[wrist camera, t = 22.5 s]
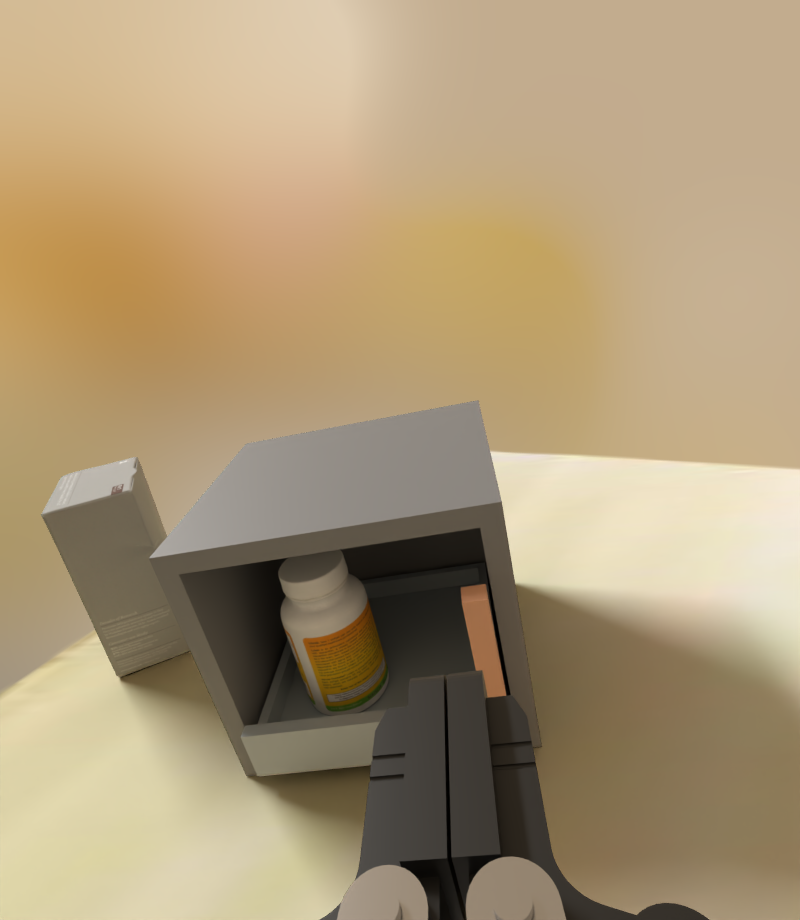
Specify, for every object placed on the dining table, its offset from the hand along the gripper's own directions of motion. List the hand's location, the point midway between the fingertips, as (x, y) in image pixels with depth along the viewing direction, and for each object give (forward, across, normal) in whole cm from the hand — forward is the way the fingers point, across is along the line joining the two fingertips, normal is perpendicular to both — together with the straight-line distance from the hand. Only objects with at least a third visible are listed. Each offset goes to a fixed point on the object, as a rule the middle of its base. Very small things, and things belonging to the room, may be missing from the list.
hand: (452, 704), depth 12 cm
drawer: (+21, +7, +19) cm, 29 cm away
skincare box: (+30, +29, +20) cm, 46 cm away
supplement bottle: (+19, +9, +18) cm, 28 cm away
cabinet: (+23, +7, +20) cm, 31 cm away
